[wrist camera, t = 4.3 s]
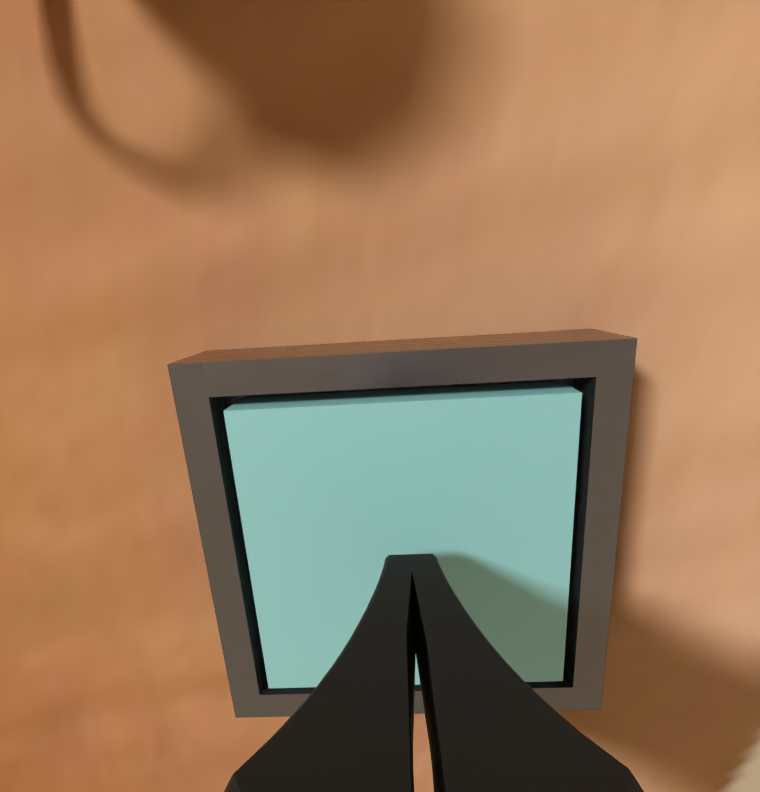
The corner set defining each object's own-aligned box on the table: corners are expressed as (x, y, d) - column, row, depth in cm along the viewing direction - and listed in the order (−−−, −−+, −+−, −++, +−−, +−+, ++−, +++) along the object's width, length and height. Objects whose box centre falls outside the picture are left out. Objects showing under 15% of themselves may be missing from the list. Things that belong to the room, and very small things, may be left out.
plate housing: (592, 329, 13) (637, 338, 11) (570, 648, 17) (600, 709, 14) (206, 351, 14) (167, 364, 12) (257, 656, 17) (235, 717, 15)
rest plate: (560, 380, 13) (582, 392, 11) (546, 643, 15) (562, 680, 14) (241, 397, 13) (223, 410, 12) (279, 651, 16) (268, 688, 14)
